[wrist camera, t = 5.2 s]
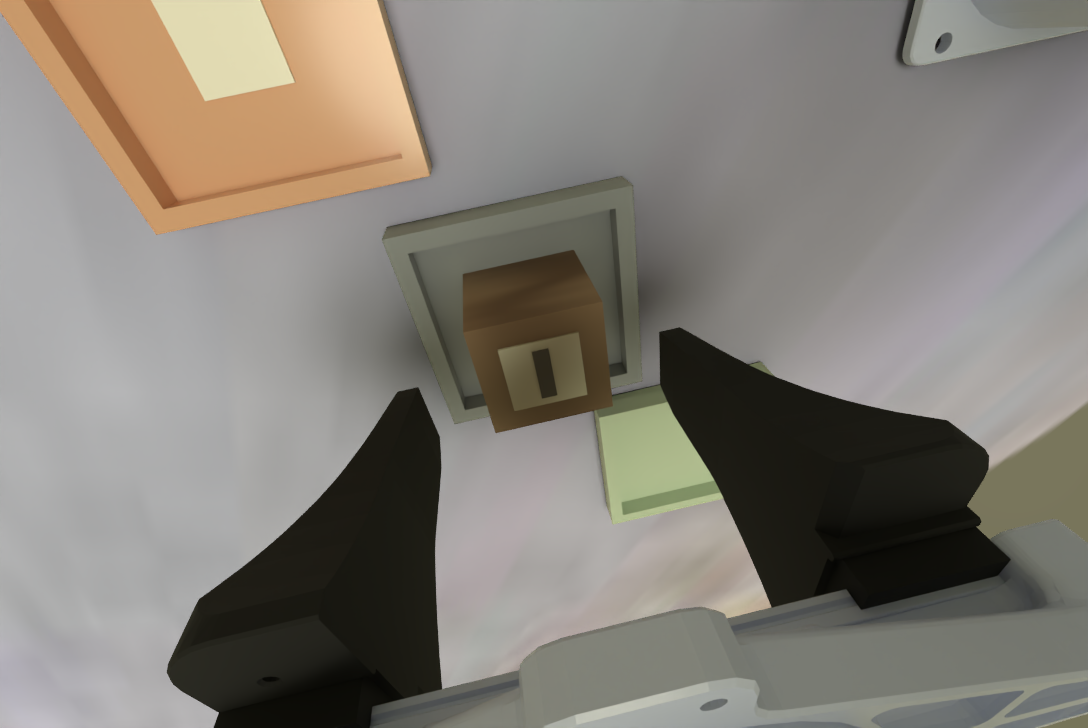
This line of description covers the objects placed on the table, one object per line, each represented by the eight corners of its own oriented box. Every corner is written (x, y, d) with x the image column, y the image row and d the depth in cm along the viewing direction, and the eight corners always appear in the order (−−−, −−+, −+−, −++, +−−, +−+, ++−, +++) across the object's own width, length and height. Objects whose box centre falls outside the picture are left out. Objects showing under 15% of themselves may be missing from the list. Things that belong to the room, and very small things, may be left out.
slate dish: (621, 176, 15) (633, 185, 14) (633, 364, 20) (642, 381, 19) (387, 227, 15) (382, 239, 14) (455, 405, 20) (454, 424, 19)
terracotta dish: (312, -237, 9) (295, -270, 8) (432, 167, 14) (430, 175, 13) (-76, -163, 9) (-140, -188, 8) (177, 221, 14) (156, 234, 13)
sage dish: (761, 362, 21) (775, 377, 20) (744, 474, 26) (755, 490, 25) (592, 400, 21) (598, 418, 20) (606, 506, 25) (612, 524, 24)
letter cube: (573, 249, 16) (603, 303, 13) (586, 342, 18) (613, 408, 15) (462, 273, 16) (463, 334, 12) (489, 364, 18) (495, 435, 15)
